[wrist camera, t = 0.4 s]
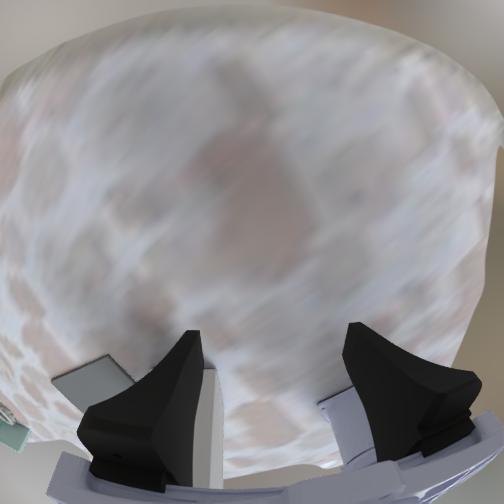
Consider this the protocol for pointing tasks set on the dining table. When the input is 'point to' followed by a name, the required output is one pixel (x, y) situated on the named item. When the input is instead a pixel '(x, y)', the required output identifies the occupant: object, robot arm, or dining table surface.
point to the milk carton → (208, 434)
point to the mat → (93, 383)
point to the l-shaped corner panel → (12, 431)
